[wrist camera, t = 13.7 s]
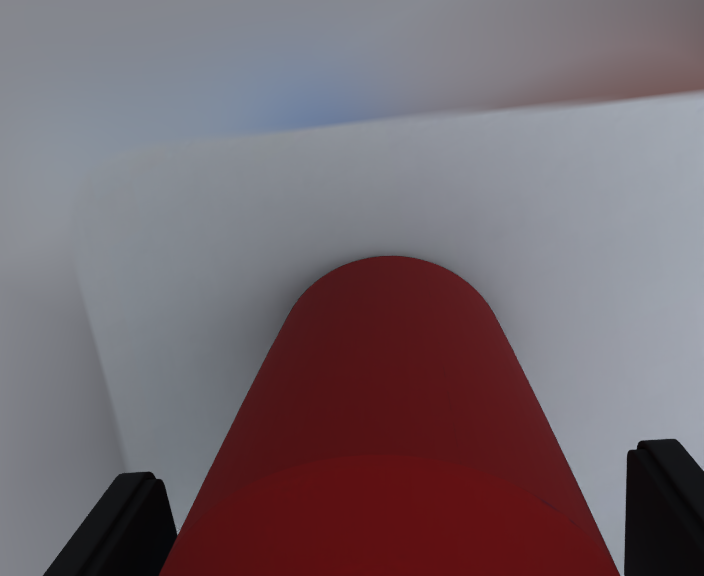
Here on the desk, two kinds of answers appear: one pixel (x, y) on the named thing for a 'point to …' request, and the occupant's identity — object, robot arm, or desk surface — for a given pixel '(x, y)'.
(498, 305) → the desk surface
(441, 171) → the desk surface
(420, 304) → the beverage can
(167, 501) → the robot arm
